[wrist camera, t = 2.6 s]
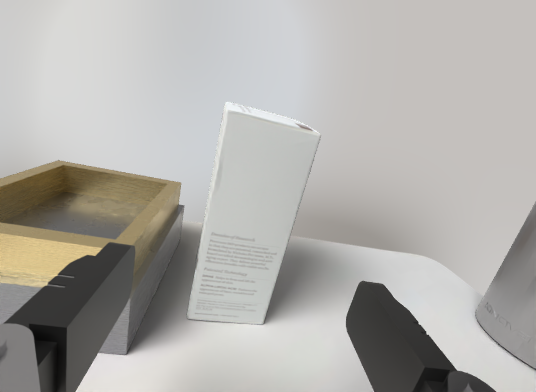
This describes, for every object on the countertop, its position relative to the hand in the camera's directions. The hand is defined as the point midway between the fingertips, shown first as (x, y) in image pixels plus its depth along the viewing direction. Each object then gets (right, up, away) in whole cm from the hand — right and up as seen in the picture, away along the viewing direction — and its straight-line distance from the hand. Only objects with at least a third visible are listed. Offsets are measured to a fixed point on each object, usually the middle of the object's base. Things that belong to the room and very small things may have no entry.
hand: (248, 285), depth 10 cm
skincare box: (-3, -5, +14) cm, 15 cm away
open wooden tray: (-15, -2, +12) cm, 20 cm away
